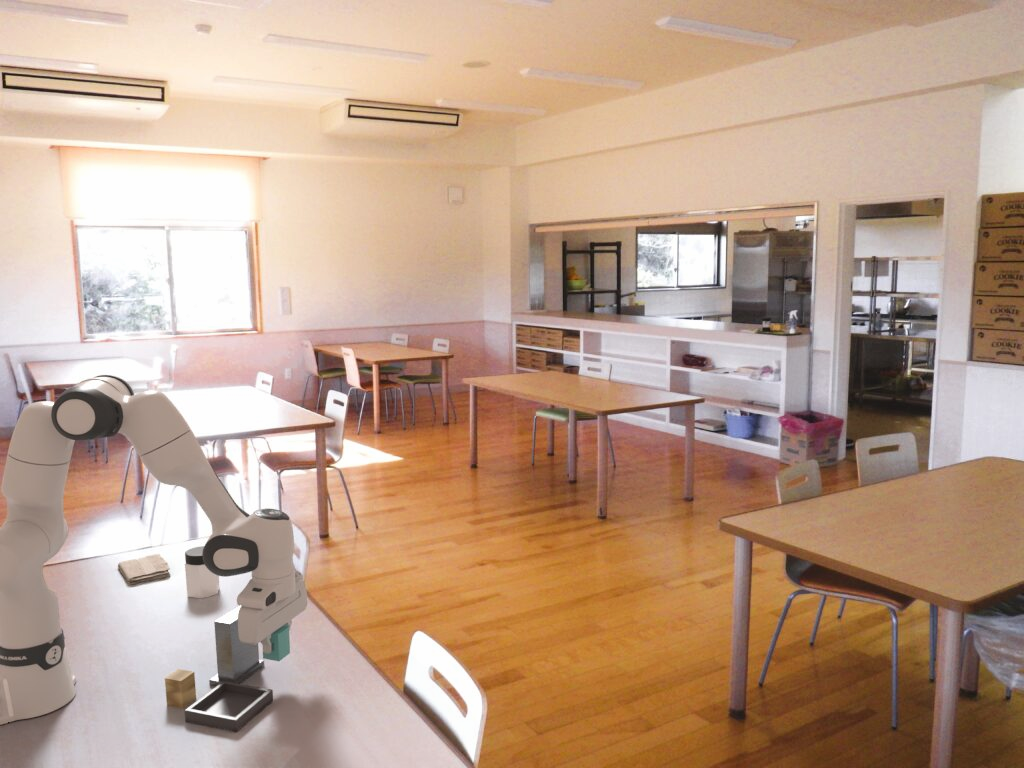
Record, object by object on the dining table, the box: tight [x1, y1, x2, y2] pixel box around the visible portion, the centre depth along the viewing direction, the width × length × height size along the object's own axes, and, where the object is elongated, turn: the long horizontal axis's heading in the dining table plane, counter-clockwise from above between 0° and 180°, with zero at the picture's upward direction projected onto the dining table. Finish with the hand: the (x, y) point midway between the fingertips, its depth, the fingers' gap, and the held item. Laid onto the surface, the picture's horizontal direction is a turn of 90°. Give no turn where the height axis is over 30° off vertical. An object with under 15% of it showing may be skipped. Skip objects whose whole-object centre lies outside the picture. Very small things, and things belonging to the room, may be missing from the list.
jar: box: [184, 545, 220, 599], centre depth 227 cm, size 9×8×12 cm
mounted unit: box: [208, 605, 265, 687], centre depth 181 cm, size 6×11×14 cm, turn 161°
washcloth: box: [117, 553, 171, 586], centre depth 243 cm, size 12×18×3 cm, turn 36°
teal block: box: [262, 626, 291, 662], centre depth 177 cm, size 4×4×6 cm
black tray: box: [184, 681, 274, 733], centre depth 167 cm, size 12×12×2 cm
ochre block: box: [164, 668, 197, 709], centre depth 170 cm, size 4×4×6 cm
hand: (276, 646), depth 177 cm, fingers closed on teal block, 4 cm apart
